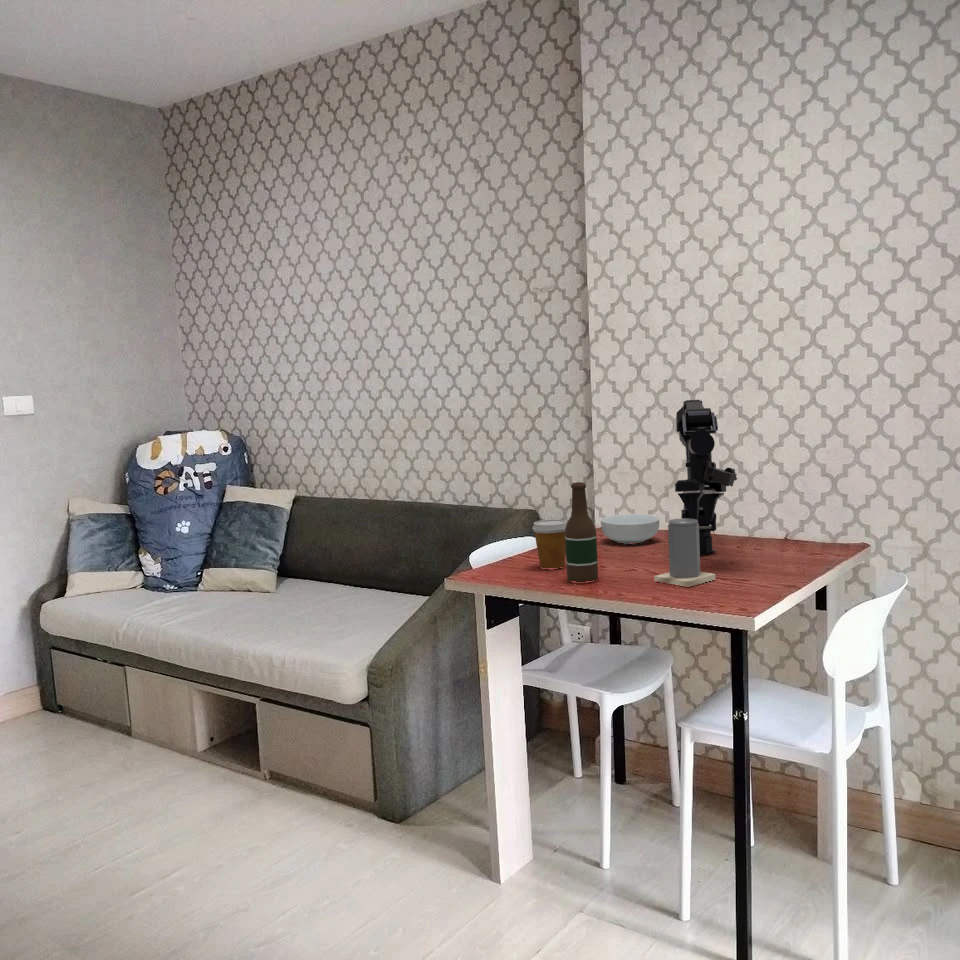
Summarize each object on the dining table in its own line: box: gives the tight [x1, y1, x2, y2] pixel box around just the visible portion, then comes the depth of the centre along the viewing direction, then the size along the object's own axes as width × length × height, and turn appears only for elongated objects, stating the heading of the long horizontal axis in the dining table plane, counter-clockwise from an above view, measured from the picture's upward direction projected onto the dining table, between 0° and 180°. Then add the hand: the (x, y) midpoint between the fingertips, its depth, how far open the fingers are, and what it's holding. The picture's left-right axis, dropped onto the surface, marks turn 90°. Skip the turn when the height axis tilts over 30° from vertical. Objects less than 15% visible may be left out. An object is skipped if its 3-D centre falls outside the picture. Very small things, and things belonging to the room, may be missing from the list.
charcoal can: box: [667, 517, 701, 578], centre depth 223 cm, size 7×7×13 cm
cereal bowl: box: [600, 513, 660, 545], centre depth 276 cm, size 17×17×7 cm
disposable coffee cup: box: [532, 519, 568, 568], centre depth 247 cm, size 10×10×12 cm
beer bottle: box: [565, 481, 599, 582], centre depth 229 cm, size 8×8×24 cm
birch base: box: [653, 571, 716, 587], centre depth 224 cm, size 10×10×2 cm
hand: (702, 521), depth 235 cm, fingers open, 9 cm apart
